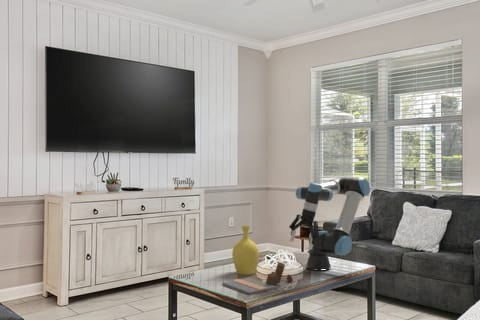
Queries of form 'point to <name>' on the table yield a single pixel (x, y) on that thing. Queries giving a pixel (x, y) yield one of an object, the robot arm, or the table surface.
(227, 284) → the board
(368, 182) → the robot arm
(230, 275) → the table surface
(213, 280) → the table surface
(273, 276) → the wooden block set
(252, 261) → the vase
